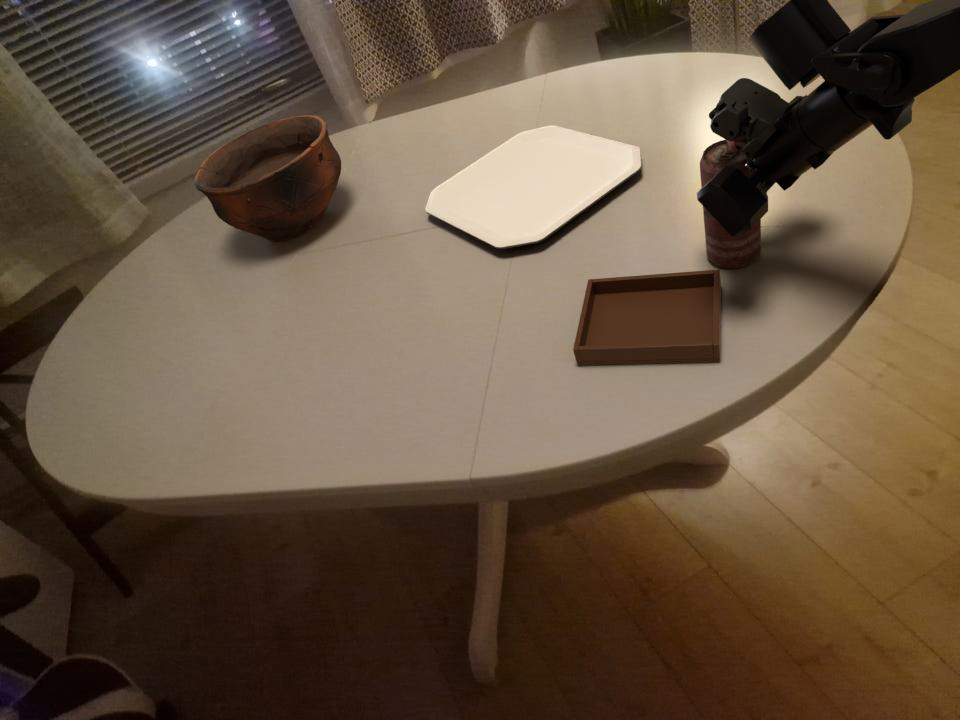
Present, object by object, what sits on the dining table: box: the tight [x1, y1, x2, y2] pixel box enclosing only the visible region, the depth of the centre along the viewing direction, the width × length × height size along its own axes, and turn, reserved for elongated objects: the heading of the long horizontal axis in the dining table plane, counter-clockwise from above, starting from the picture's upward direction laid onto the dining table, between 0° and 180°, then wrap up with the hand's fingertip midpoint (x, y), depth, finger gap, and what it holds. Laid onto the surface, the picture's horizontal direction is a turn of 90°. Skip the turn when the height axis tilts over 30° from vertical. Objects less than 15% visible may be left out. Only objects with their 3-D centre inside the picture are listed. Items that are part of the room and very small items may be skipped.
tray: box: [572, 269, 722, 367], centre depth 74 cm, size 15×12×3 cm
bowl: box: [194, 114, 342, 243], centre depth 116 cm, size 25×25×15 cm
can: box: [699, 139, 762, 270], centre depth 74 cm, size 6×6×14 cm
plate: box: [424, 124, 643, 250], centre depth 103 cm, size 29×29×2 cm
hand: (720, 202), depth 75 cm, fingers closed on can, 5 cm apart
